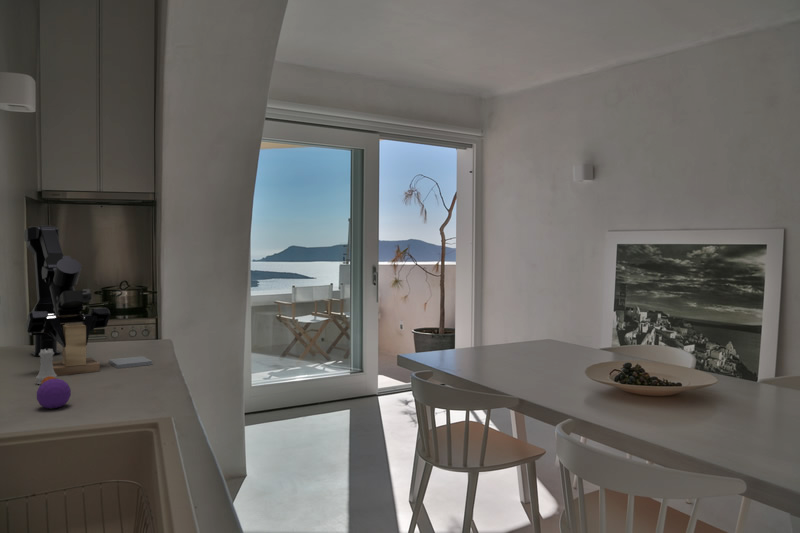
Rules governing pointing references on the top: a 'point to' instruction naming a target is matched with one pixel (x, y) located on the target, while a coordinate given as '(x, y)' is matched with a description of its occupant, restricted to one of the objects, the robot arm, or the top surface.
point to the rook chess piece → (45, 365)
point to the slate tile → (130, 362)
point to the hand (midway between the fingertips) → (75, 345)
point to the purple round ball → (53, 392)
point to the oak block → (74, 345)
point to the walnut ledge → (75, 367)
